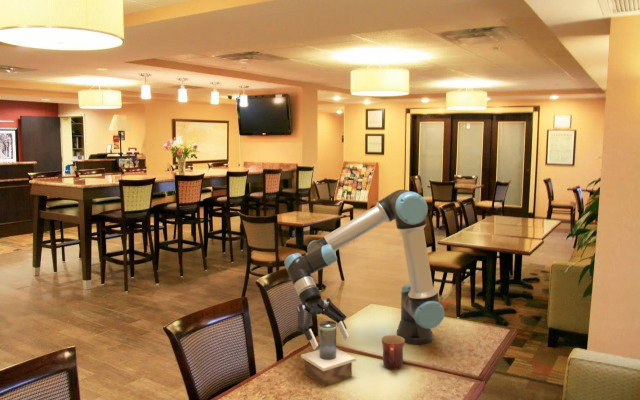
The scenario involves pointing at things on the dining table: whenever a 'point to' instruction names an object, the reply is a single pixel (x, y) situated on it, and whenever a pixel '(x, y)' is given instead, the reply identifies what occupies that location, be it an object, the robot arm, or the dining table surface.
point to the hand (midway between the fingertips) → (331, 343)
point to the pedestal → (328, 367)
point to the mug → (392, 351)
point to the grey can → (327, 340)
